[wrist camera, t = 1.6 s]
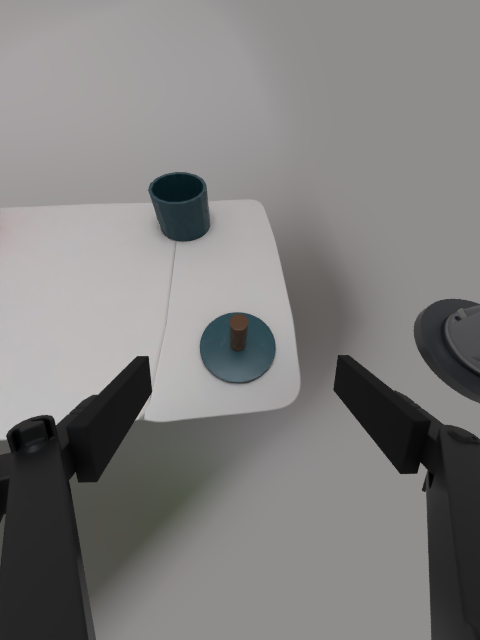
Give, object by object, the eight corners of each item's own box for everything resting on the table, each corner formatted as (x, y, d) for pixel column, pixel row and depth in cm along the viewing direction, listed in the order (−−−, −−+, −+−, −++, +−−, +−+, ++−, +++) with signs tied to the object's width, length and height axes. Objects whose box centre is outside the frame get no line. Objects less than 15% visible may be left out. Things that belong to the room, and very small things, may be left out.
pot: (210, 210, 60) (207, 172, 52) (208, 241, 54) (204, 204, 46) (165, 209, 60) (154, 171, 51) (157, 241, 53) (143, 203, 45)
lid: (271, 315, 44) (279, 286, 36) (278, 383, 37) (290, 365, 29) (203, 315, 43) (196, 285, 35) (197, 384, 36) (188, 366, 29)
